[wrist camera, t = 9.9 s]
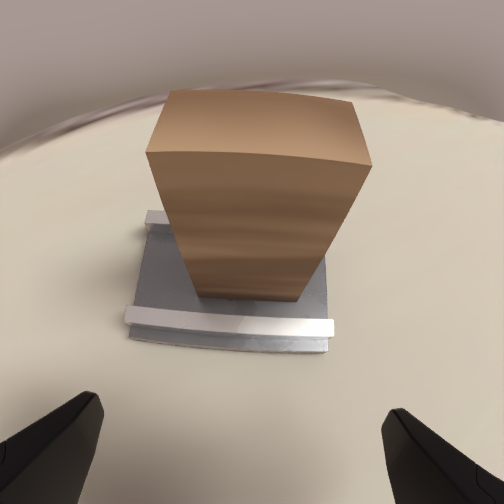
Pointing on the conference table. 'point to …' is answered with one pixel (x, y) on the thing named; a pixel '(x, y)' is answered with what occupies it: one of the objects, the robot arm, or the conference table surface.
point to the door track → (219, 307)
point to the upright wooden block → (256, 186)
